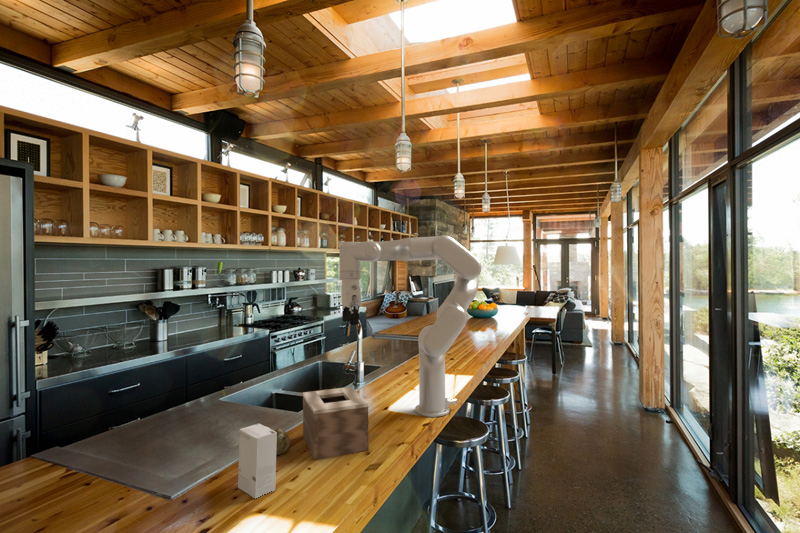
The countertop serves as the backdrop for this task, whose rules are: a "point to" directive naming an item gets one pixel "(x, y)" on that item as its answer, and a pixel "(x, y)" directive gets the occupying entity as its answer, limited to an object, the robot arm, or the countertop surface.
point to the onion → (282, 441)
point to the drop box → (335, 422)
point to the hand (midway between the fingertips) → (350, 322)
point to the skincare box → (257, 460)
